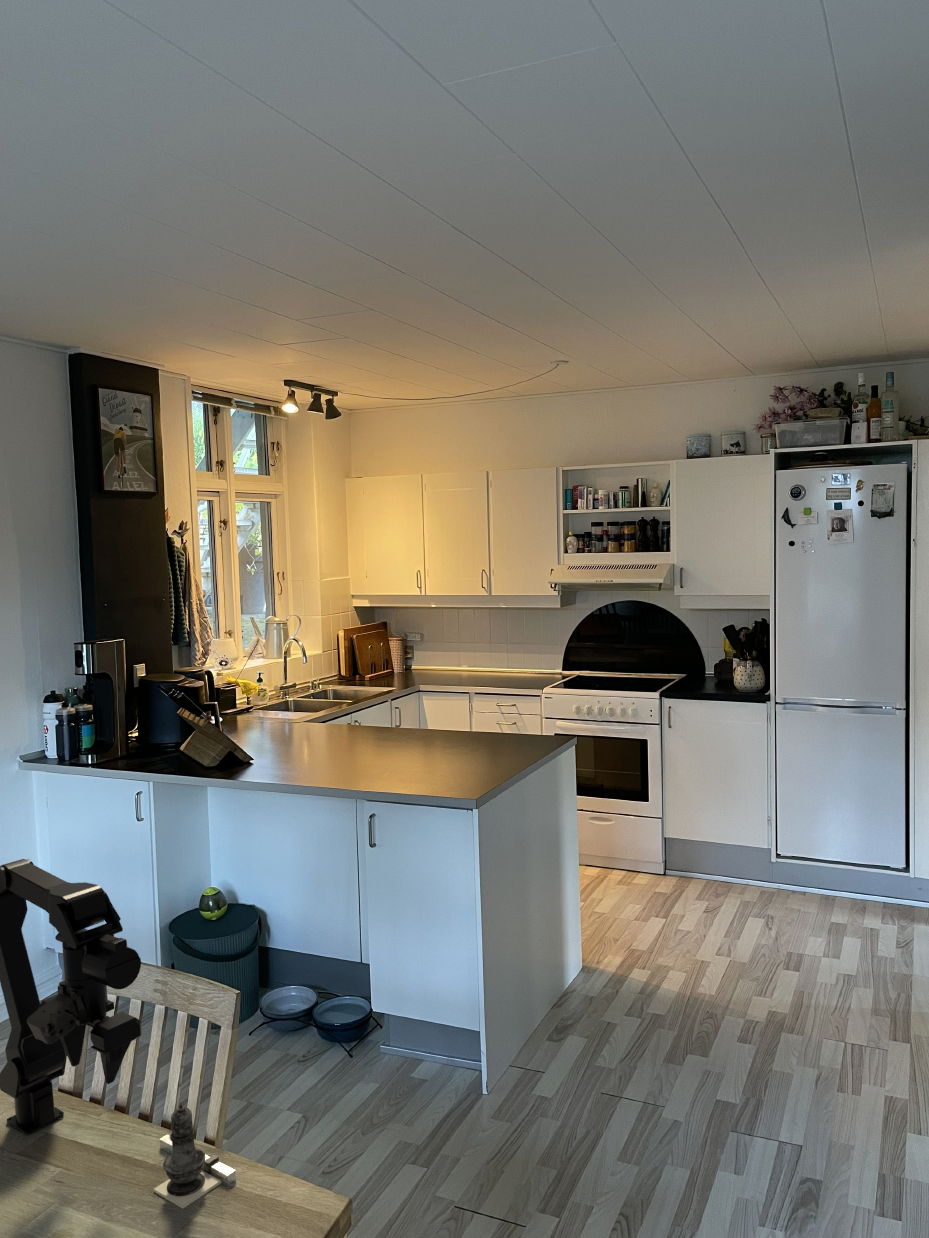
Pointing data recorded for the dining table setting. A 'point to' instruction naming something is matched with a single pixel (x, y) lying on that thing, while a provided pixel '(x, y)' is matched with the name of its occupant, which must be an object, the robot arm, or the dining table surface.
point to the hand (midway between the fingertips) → (92, 1073)
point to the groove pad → (186, 1200)
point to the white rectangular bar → (206, 1163)
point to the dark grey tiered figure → (184, 1156)
